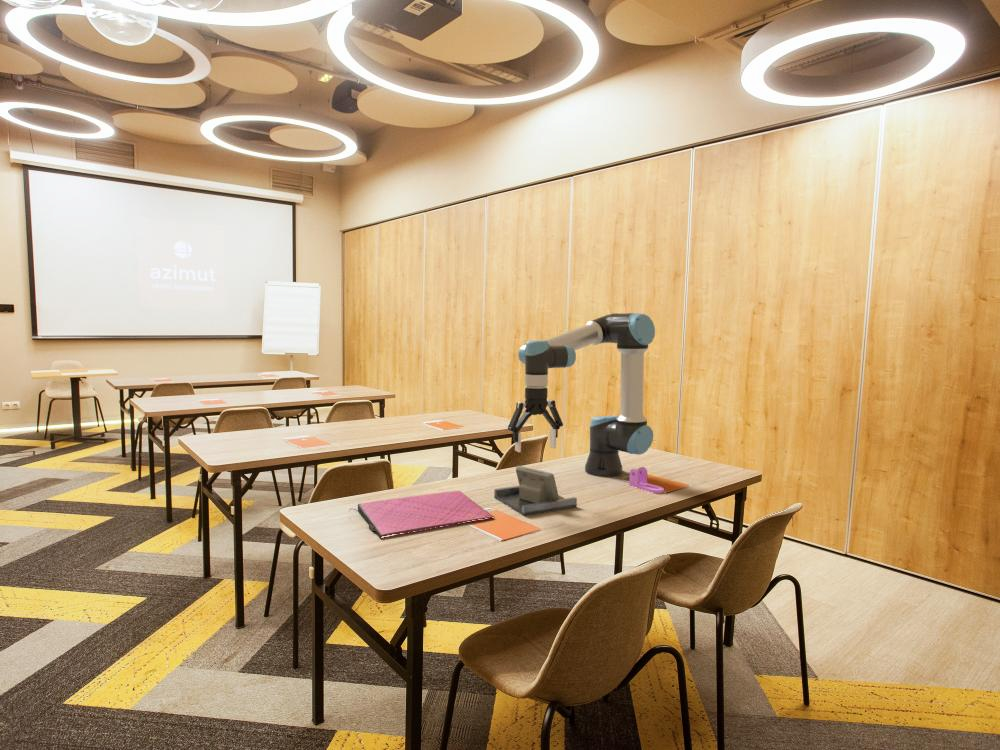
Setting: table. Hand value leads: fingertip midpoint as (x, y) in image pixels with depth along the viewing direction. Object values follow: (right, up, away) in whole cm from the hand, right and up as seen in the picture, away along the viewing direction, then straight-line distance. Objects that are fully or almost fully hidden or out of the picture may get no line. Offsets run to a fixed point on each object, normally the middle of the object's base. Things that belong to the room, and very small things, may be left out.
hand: (535, 449), depth 190 cm
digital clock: (+1, -17, +2) cm, 17 cm away
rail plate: (0, -18, +2) cm, 18 cm away
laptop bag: (-38, -20, -13) cm, 44 cm away
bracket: (+43, -17, +19) cm, 50 cm away
